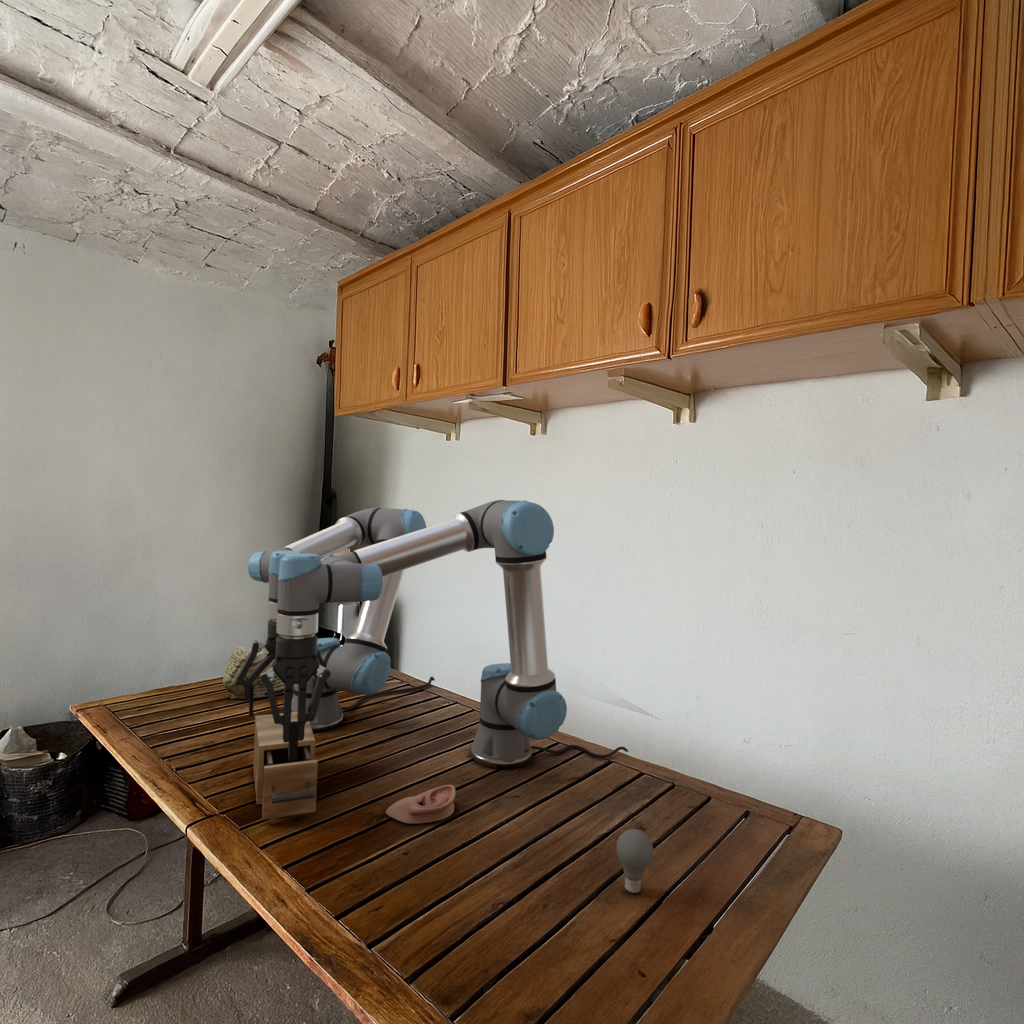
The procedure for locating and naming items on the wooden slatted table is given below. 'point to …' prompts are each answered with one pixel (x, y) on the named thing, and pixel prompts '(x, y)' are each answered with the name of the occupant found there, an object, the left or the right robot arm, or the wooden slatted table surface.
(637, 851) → the light bulb
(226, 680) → the fossil
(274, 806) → the drawer
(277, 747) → the cabinet
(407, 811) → the anatomical model
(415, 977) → the wooden slatted table surface
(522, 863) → the wooden slatted table surface
